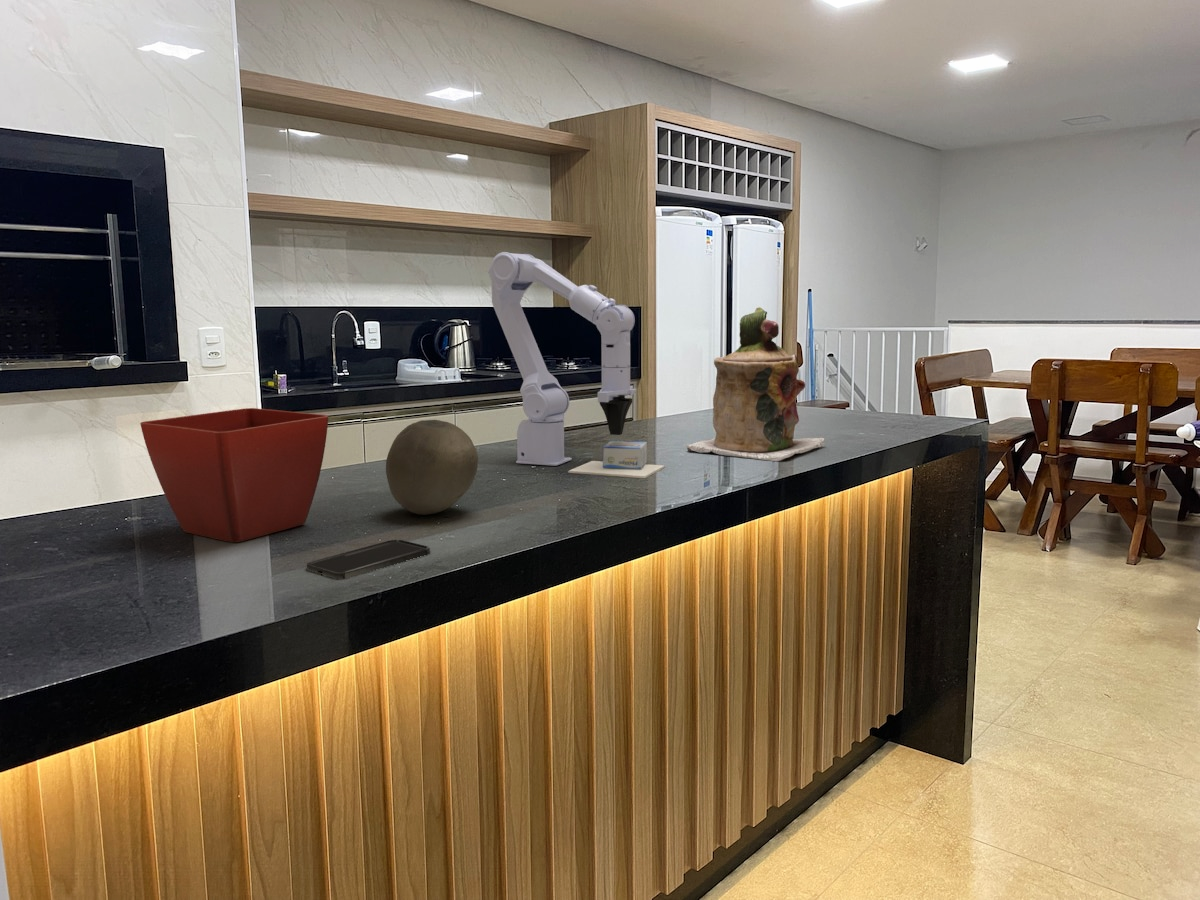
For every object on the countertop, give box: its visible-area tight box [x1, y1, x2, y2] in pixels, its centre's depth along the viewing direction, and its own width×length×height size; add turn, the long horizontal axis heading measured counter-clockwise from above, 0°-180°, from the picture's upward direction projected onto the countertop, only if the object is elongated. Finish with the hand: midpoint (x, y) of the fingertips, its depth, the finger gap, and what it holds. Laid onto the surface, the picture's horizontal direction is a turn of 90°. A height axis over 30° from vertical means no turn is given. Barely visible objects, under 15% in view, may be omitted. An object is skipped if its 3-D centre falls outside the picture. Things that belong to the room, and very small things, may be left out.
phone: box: [306, 539, 431, 580], centre depth 118 cm, size 8×1×15 cm
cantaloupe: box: [385, 419, 479, 516], centre depth 143 cm, size 14×14×15 cm
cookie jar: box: [685, 306, 825, 462], centre depth 201 cm, size 25×25×32 cm
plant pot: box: [140, 407, 329, 543], centre depth 134 cm, size 19×19×17 cm
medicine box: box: [602, 440, 648, 469], centre depth 182 cm, size 8×4×9 cm
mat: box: [567, 460, 666, 479], centre depth 180 cm, size 16×12×1 cm
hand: (616, 434), depth 181 cm, fingers closed
